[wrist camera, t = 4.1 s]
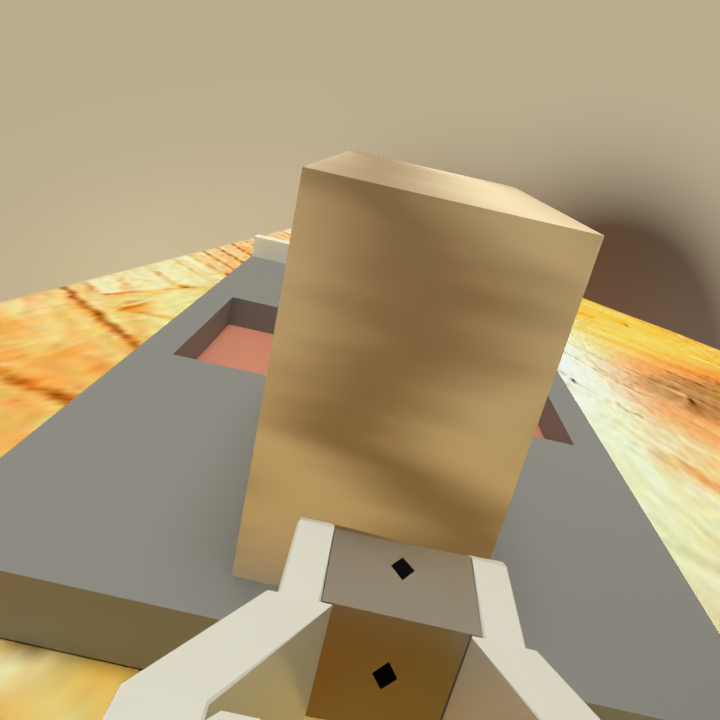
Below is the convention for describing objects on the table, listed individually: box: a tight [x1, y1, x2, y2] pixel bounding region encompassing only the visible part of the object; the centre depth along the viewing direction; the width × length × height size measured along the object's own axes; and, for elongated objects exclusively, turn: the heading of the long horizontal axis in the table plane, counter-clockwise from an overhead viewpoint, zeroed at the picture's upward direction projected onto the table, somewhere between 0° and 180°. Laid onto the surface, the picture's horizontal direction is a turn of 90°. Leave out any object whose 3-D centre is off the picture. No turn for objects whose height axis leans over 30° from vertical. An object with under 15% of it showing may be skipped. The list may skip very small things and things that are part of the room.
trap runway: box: [0, 235, 720, 720], centre depth 31 cm, size 21×36×4 cm, turn 176°
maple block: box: [232, 150, 604, 586], centre depth 19 cm, size 6×11×10 cm, turn 176°
